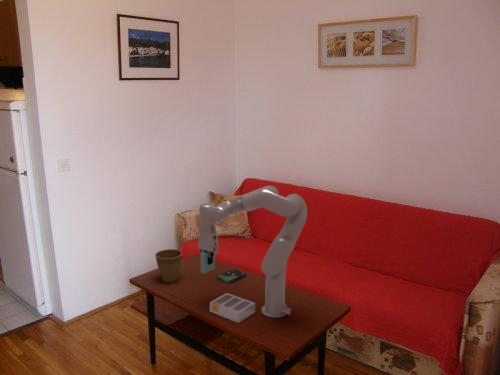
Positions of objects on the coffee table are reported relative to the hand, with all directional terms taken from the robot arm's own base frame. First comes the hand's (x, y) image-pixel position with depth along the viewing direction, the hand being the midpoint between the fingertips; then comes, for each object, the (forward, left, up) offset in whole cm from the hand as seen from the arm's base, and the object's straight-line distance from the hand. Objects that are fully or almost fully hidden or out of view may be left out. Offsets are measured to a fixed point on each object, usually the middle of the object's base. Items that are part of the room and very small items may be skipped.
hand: (207, 262), depth 217 cm
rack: (-17, +1, -21) cm, 27 cm away
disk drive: (+9, -30, -22) cm, 38 cm away
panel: (0, 0, -4) cm, 4 cm away
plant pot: (+35, -6, -21) cm, 41 cm away
